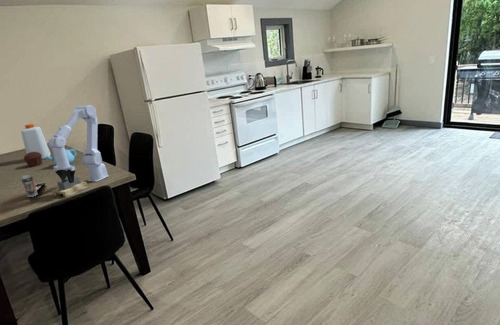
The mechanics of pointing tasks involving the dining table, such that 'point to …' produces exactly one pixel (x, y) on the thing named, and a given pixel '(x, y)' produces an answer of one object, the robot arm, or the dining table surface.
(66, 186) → the housing
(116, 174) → the dining table surface
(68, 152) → the teapot
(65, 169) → the robot arm
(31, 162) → the muffin
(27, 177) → the beer can
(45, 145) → the plastic bottle
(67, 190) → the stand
